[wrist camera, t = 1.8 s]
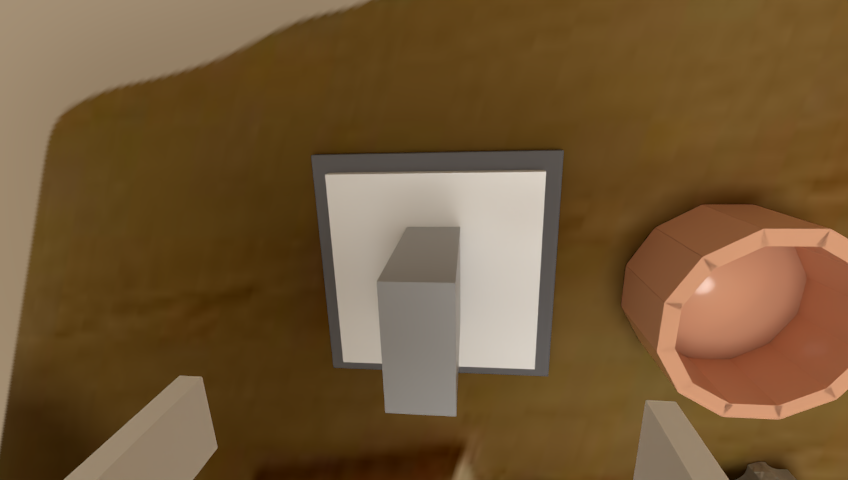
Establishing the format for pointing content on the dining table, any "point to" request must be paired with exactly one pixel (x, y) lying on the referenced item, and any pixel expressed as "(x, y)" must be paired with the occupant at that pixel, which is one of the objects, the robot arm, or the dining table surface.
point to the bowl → (743, 309)
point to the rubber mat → (449, 162)
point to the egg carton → (765, 473)
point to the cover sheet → (484, 254)
